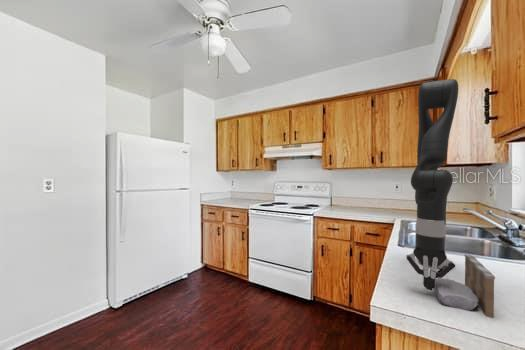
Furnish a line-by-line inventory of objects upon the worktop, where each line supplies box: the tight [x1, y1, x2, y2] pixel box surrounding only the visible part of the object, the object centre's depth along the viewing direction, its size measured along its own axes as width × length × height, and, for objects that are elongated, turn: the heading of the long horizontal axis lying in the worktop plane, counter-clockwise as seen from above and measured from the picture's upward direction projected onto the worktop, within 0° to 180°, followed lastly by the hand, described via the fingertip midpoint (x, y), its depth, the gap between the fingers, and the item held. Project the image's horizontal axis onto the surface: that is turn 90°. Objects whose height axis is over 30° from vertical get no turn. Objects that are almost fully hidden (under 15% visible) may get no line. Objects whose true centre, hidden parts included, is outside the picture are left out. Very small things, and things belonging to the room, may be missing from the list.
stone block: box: [433, 278, 479, 311], centre depth 71 cm, size 12×5×10 cm
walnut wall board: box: [464, 253, 496, 319], centre depth 71 cm, size 20×2×11 cm, turn 152°
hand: (428, 288), depth 74 cm, fingers closed
